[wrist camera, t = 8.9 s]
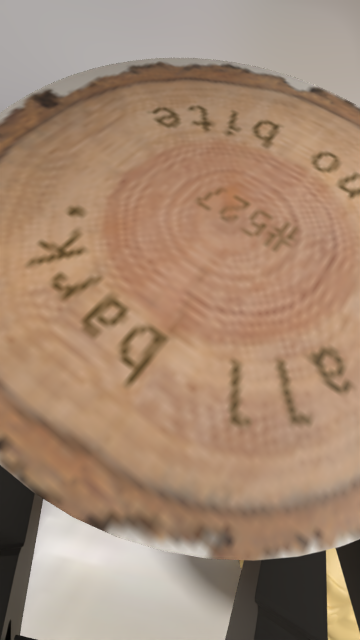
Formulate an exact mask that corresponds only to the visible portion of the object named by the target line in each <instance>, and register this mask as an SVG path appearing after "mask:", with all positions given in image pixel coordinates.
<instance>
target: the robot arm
mask: <svg viewBox="0 0 360 640" xmlns="http://www.w3.org/2000/svg"><path fill="white" fill-rule="evenodd" d="M42 502H43V498H42V497H40V496H38V495H37V494H35V493H34V492H32V491H31V490H30V489H29V488H28V487H26V486H25V485H24V484H23V483H21V482H20V481H19V480H18V479H17V478H15V477H14V476H13V475H12V474H11V473H9V472H8V471H7V470H6V469H4V468H3V467H2V466H1V465H0V640H36V639H32V638H28V637H24V636H20V631H21V624H22V617H23V611H24V606H25V600H26V594H27V588H28V583H29V577H30V571H31V565H32V560H33V554H34V548H35V543H36V537H37V531H38V525H39V520H40V514H41V508H42ZM336 552H337V555H338V559H339V562H340V566H341V569H342V573H343V576H344V580H345V583H346V587H347V590H348V594H349V597H350V601H351V604H352V607H353V611H354V614H355V618H356V621H357V625H358V628H359V632H360V539H359V540H356V541H354V542H351V543H349V544H346V545H344V546H341V547H337V548H336ZM225 640H328V623H327V573H326V550H324V551H320V552H315V553H311V554H307V555H302V556H298V557H287V558H276V559H265V560H254V561H252V560H244V562H243V566H242V570H241V575H240V579H239V583H238V587H237V592H236V596H235V600H234V604H233V609H232V613H231V617H230V621H229V626H228V630H227V634H226V638H225Z"/></svg>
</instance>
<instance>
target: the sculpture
mask: <svg viewBox="0 0 360 640" xmlns="http://www.w3.org/2000/svg"><path fill="white" fill-rule="evenodd" d="M239 562H240V567H241V569H242V566H243V562H244V560H239ZM326 573H327V623H328V640H360V632H359V628H358V625H357V621H356V618H355V614H354V611H353V607H352V604H351V601H350V597H349V594H348V590H347V587H346V583H345V580H344V576H343V573H342V569H341V566H340V562H339V559H338V555H337V552H336V548H333V549H328V550H326Z"/></svg>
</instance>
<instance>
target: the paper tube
mask: <svg viewBox="0 0 360 640" xmlns="http://www.w3.org/2000/svg"><path fill="white" fill-rule="evenodd" d="M0 465H1V466H2V467H3V468H4V469H6V470H7V471H8V472H9V473H11V474H12V475H13V476H14V477H15V478H17V479H18V480H19V481H20V482H21V483H23V484H24V485H25V486H26V487H28V488H29V489H30V490H31V491H32V492H34V493H35V494H37V495H38V496H40V497H42V498H43V499H45V500H46V501H48V502H50V503H51V504H53V505H54V506H56V507H58V508H59V509H61V510H62V511H64V512H66V513H67V514H69V515H70V516H72V517H74V518H76V519H78V520H81V521H83V522H85V523H87V524H89V525H91V526H94V527H96V528H98V529H100V530H102V531H105V532H107V533H109V534H111V535H113V536H116V537H119V538H122V539H125V540H128V541H132V542H135V543H138V544H141V545H145V546H148V547H151V548H154V549H157V550H161V551H167V552H172V553H178V554H184V555H189V556H195V557H201V558H207V559H229V560H252V561H254V560H265V559H276V558H287V557H298V556H302V555H307V554H311V553H315V552H320V551H324V550H328V549H333V548H337V547H341V546H344V545H346V544H349V543H351V542H354V541H356V540H359V539H360V107H359V106H357V105H356V104H354V103H352V102H350V101H348V100H346V99H344V98H342V97H340V96H338V95H336V94H334V93H332V92H330V91H327V90H325V89H323V88H321V87H319V86H316V85H314V84H311V83H308V82H305V81H303V80H300V79H298V78H295V77H292V76H289V75H285V74H282V73H279V72H276V71H272V70H268V69H264V68H260V67H256V66H250V65H245V64H240V63H235V62H228V61H220V60H211V59H198V58H159V59H158V58H157V59H146V60H136V61H128V62H123V63H116V64H111V65H107V66H102V67H98V68H94V69H90V70H87V71H84V72H81V73H77V74H74V75H71V76H68V77H66V78H63V79H61V80H58V81H56V82H53V83H51V84H49V85H47V86H45V87H43V88H41V89H39V90H37V91H35V92H33V93H31V94H29V95H27V96H26V97H24V98H22V99H21V100H19V101H17V102H16V103H14V104H13V105H11V106H9V107H8V108H7V109H5V110H4V111H3V112H1V113H0Z"/></svg>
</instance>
